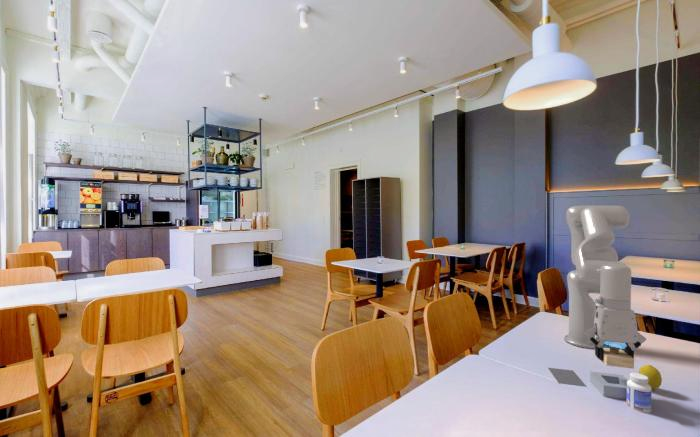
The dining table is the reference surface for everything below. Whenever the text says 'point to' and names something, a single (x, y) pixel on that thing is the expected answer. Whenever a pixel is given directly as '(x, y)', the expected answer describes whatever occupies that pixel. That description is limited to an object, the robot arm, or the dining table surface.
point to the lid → (617, 358)
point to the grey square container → (609, 384)
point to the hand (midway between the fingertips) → (614, 359)
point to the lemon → (651, 376)
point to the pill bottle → (639, 393)
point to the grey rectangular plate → (566, 377)
